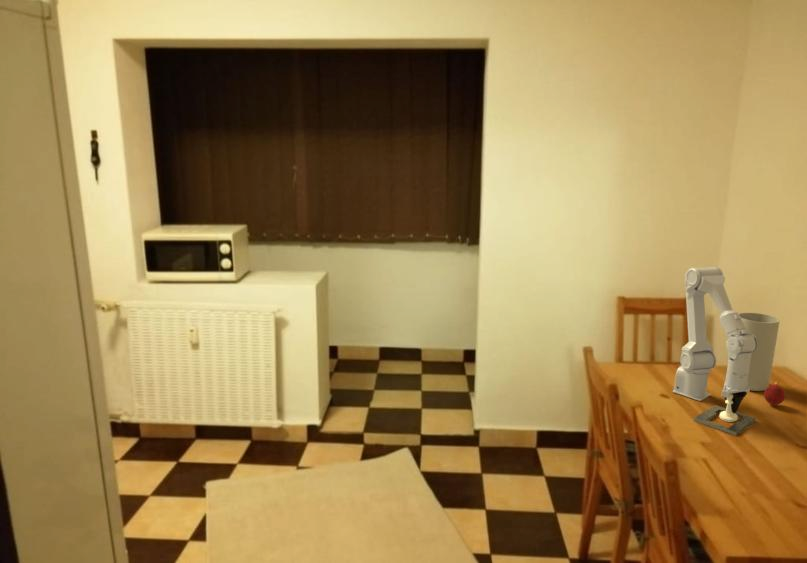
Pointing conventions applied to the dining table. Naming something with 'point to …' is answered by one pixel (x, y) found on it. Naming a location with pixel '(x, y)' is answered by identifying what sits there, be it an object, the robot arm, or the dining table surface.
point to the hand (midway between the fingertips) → (731, 412)
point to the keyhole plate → (733, 429)
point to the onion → (774, 394)
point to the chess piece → (728, 411)
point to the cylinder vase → (761, 348)
